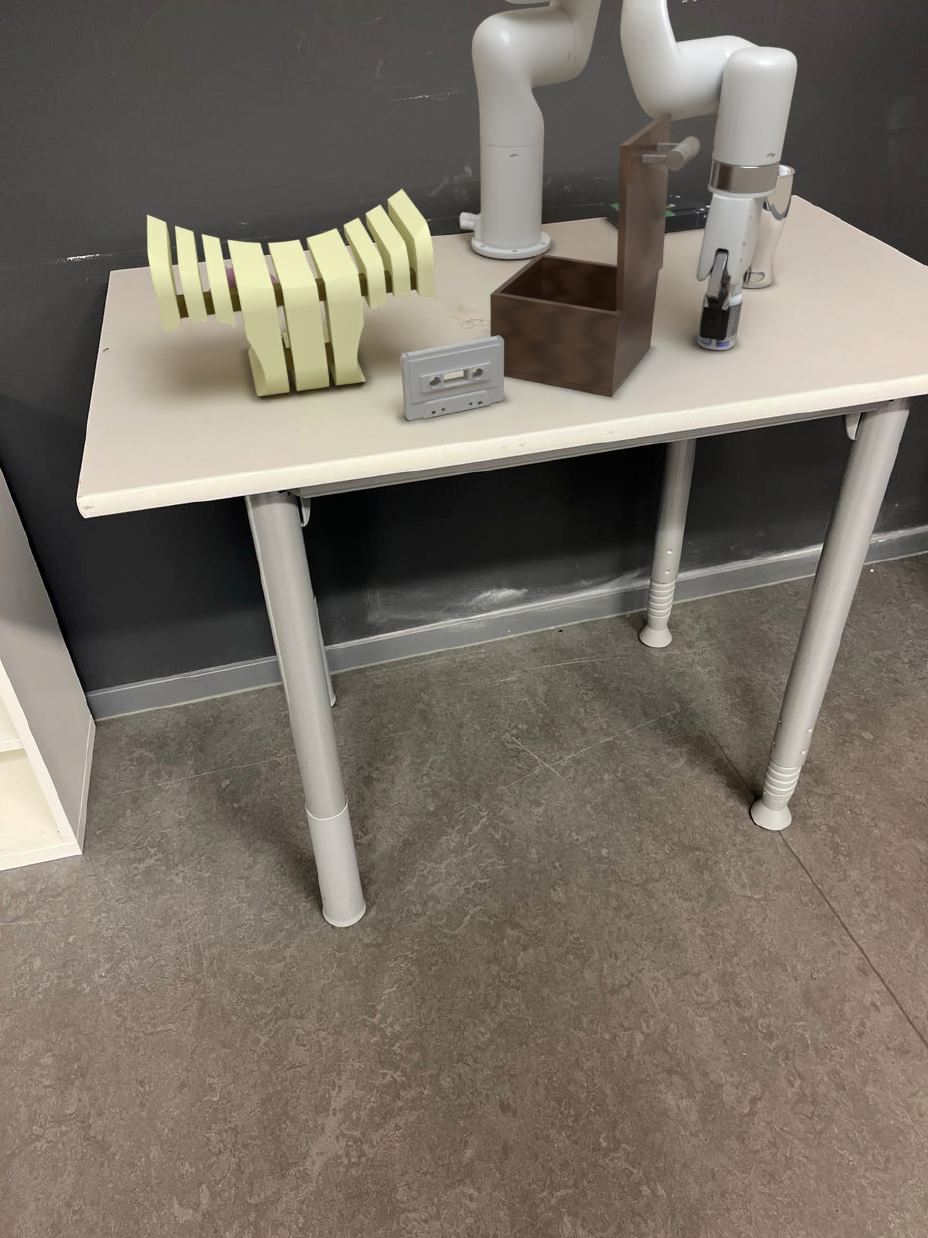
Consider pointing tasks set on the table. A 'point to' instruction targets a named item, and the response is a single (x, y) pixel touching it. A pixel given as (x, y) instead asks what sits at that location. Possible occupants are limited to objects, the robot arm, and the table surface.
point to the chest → (571, 324)
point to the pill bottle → (732, 324)
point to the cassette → (454, 392)
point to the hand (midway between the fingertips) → (718, 328)
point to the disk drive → (673, 213)
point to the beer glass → (770, 230)
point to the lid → (645, 203)
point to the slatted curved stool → (298, 291)
